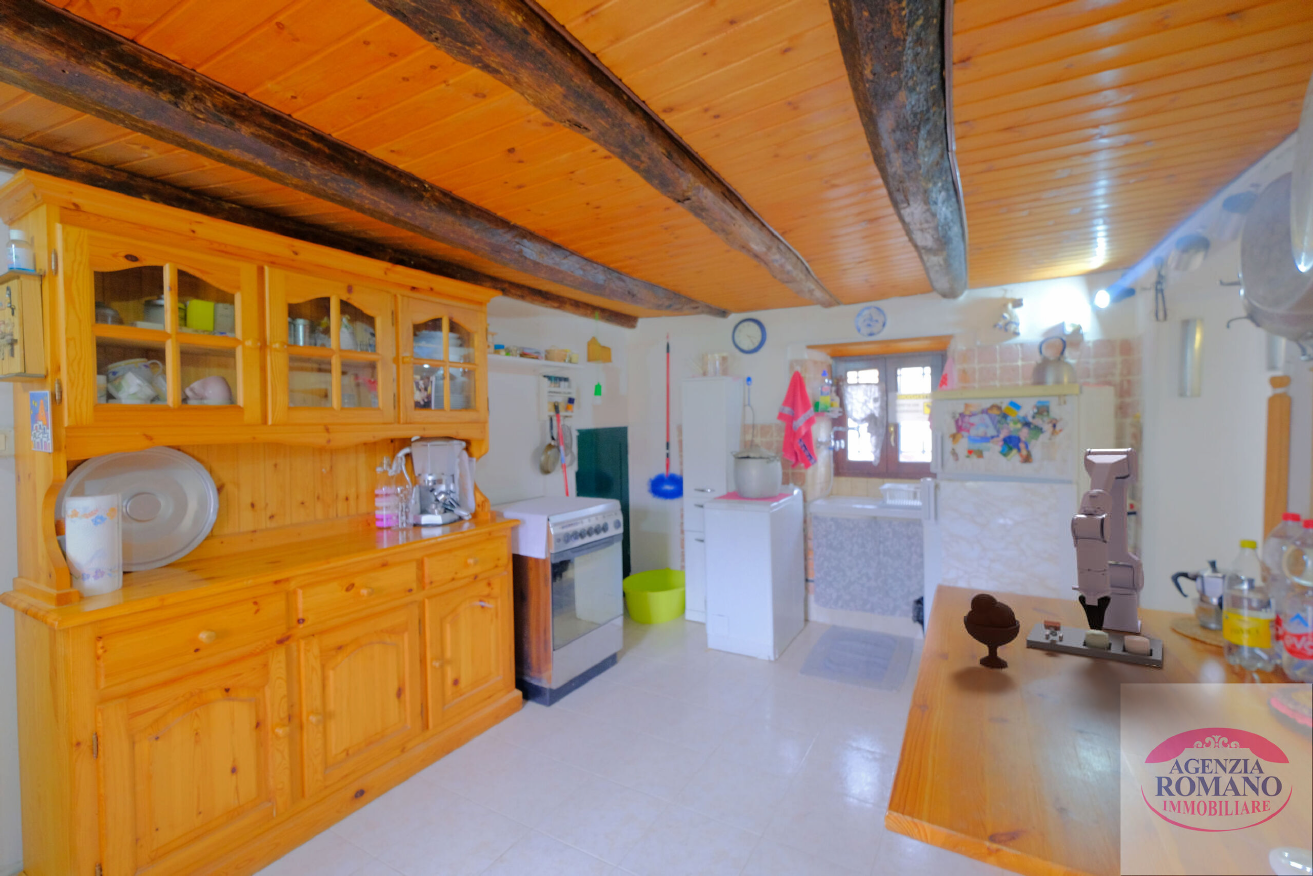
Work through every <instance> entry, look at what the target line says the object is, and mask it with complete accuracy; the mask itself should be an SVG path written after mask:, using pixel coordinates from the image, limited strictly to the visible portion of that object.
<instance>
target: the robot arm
mask: <svg viewBox="0 0 1313 876" xmlns="http://www.w3.org/2000/svg"><path fill="white" fill-rule="evenodd" d="M1138 465H1139V464H1138V454H1137V451H1136V450H1135V449H1134V448H1133V447H1129V448H1099V449H1097V448H1096V449H1094V448H1093V449H1092V448H1088V449H1086V451H1085V452H1084V455H1083V466H1084V468H1085V472H1086V473H1087V474H1088V476H1089V477H1090V479H1091V480H1090V485H1089V486H1090V487H1089V488H1090V489H1089V490H1087V491H1086V492H1085V493H1083V495H1082V498H1081V502H1080V505H1079V509H1078V513H1077V514H1076V516H1073V517H1072V518H1071V520H1070V521H1071V522H1070V531H1071V532H1070V533H1071V536H1072V540H1073V547H1074V548H1075V553H1076V568H1077V569H1076V570H1077V584H1078V585H1075V584H1073V585H1072V586H1071V589H1072V591H1078V592H1079V593H1080V595H1078V602H1079V604H1080V605H1081V606H1082V608H1083V611H1084V613H1085V616H1086V621H1087V623H1088V626H1089V630H1097V631H1102V630H1103V629H1106V630H1115V631H1120V632H1127V633H1128V632H1129V633H1137V634H1138V633H1139V634H1140V633H1141V627H1142V626H1141V625H1142V621H1141V620H1139V617H1138V615H1139V613H1138V599H1137V597H1138V596H1137V593H1139V592H1141V591H1143V589H1144V585H1145V584H1144V583H1145V574H1144V569H1143V562H1142V561H1141V559H1140V558H1139V557H1138V556H1136V555H1134V554H1133V553H1132V552H1130V551H1129V549H1128V545H1129V544H1128V543H1129V542H1128V490H1129V485H1131V484H1134V483H1136V482H1137V481H1138V477H1139V472H1138V470H1139V466H1138ZM1112 562H1115V563H1112ZM1120 563H1121V564H1120ZM1122 563H1123V564H1122ZM1125 563H1126V564H1125ZM1102 632H1103V631H1102Z"/></svg>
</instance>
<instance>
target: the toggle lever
mask: <svg viewBox="0 0 1313 876" xmlns="http://www.w3.org/2000/svg"><path fill="white" fill-rule="evenodd" d="M1043 624H1044V627H1045V629H1048V630H1050V634H1051V636H1054V637H1055V636H1057V635H1058V634H1057V631H1060V630H1061V626H1062V625H1061V622H1059V621H1053V620H1046V619H1045V620H1044V623H1043Z"/></svg>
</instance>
